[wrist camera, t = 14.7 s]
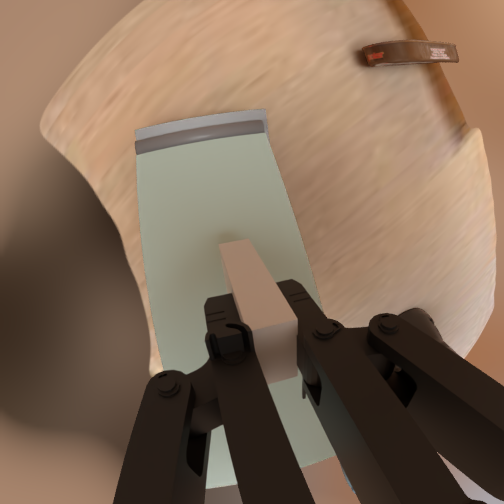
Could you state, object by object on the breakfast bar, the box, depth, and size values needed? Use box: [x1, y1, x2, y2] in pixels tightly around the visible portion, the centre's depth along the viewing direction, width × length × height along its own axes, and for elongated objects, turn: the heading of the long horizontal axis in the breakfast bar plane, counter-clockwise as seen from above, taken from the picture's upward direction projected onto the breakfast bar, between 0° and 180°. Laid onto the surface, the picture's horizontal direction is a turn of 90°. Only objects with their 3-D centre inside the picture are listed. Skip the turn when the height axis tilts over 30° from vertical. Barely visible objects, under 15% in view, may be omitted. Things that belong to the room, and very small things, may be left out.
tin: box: [362, 40, 459, 67], centre depth 22 cm, size 15×3×8 cm, turn 110°
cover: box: [135, 120, 336, 489], centre depth 15 cm, size 23×9×1 cm
